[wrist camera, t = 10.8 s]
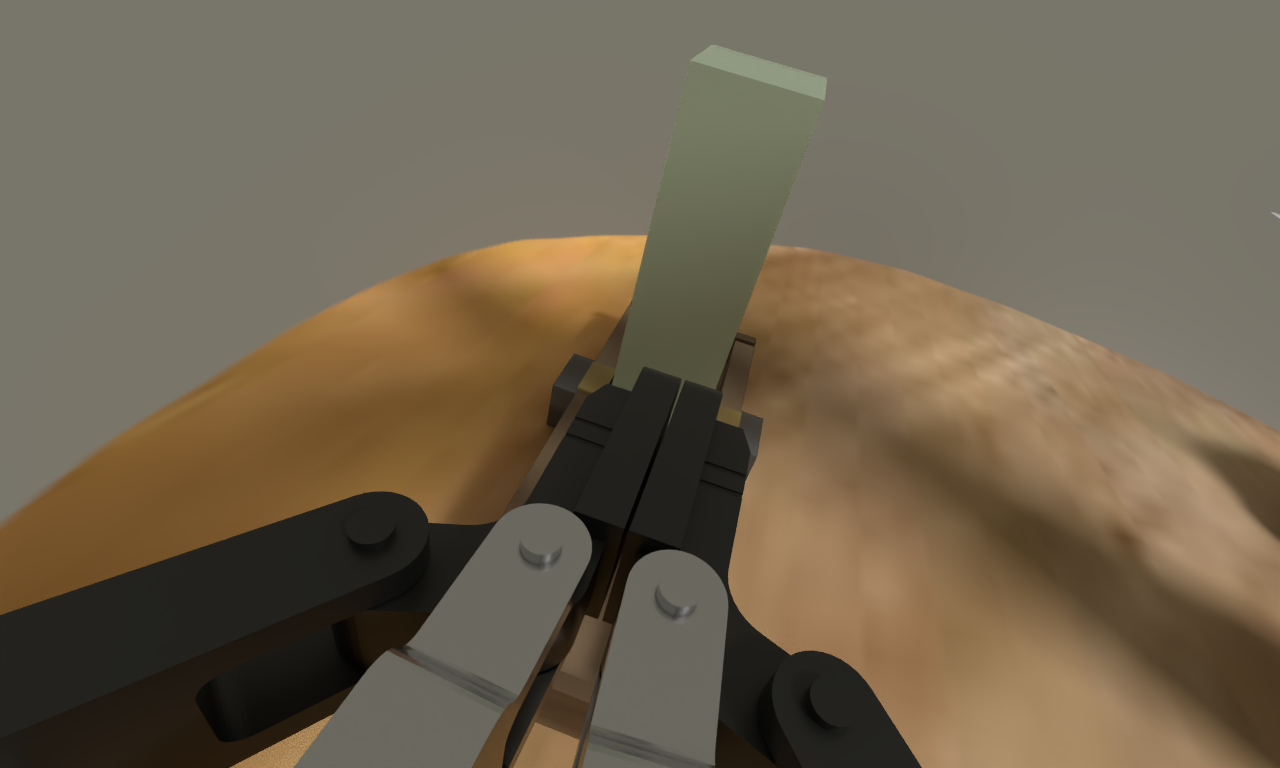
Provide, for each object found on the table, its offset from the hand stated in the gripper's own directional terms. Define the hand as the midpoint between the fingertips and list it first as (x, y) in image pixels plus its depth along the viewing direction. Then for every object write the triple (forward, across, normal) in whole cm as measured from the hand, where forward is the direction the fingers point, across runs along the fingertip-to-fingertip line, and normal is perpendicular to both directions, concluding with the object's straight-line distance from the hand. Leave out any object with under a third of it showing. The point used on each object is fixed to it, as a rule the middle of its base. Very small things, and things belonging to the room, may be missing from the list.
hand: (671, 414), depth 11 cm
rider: (+15, +1, +15) cm, 21 cm away
